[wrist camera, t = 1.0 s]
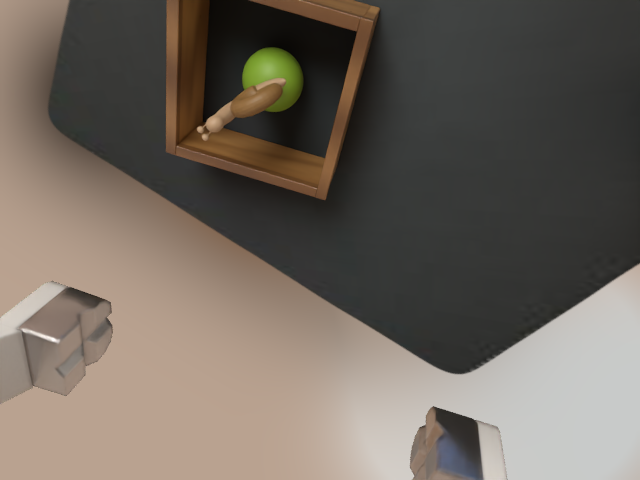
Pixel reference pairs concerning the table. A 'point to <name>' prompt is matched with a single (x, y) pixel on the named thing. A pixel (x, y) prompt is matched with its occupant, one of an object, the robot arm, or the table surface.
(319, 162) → the open wooden box
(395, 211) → the table surface
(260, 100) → the snail figurine
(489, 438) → the robot arm
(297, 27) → the table surface
